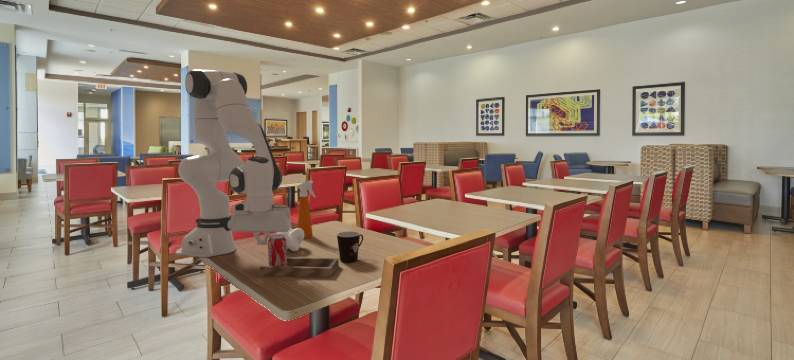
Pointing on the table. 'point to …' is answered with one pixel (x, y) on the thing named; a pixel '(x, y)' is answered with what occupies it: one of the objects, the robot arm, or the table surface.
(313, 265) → the wooden tray
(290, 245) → the white lumpy piece
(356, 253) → the coffee mug
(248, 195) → the robot arm
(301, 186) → the spray bottle
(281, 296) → the table surface
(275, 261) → the beverage can
